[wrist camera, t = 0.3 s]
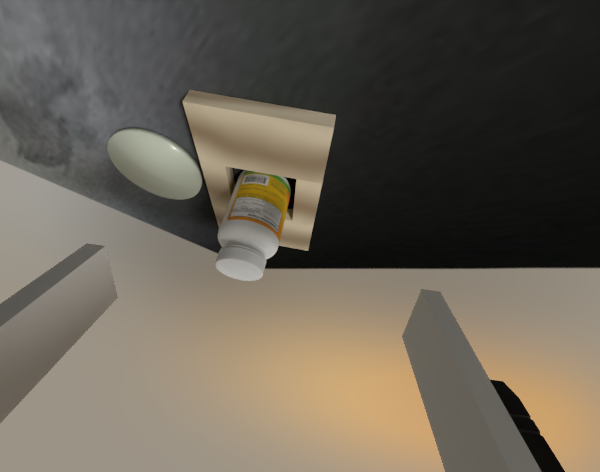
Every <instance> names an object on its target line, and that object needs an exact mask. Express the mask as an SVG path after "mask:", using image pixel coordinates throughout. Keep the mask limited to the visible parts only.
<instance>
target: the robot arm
mask: <svg viewBox="0 0 600 472" xmlns="http://www.w3.org/2000/svg"><path fill="white" fill-rule="evenodd" d="M117 298H118V297H117V293H116V289H115V285H114V281H113V276H112V273H111V268H110V264H109V260H108V255H107V251H106V247H105V246H101V245H93V244H85V245H84V246H83V247H81V248H80V249H78V250H77V251H75V252H74V253H73V254H71V255H70V256H68V257H67V258H65V259H64V260H63V261H61V262H60V263H58V264H57V265H55V266H54V267H53V268H51V269H50V270H48V271H47V272H45V273H44V274H43V275H41V276H40V277H38V278H37V279H35V280H34V281H33V282H31V283H30V284H28V285H27V286H26V287H24V288H22V289H21V290H20V291H18V292H17V293H16V294H14V295H12V296H11V297H10V298H8V299H7V300H5V301H4V302H3V303H1V304H0V423H1V422H2V421H3V420H4V419H5V418H6V417H7V416H8V414H9V413H10V412H11V411H12V410H13V409H14V408H15V407H16V406H17V405H18V404H19V403H20V401H22V399H23V398H24V397H25V396H26V395H27V394H28V393H29V392H30V391H31V390H32V389H33V388H34V386H35V385H36V384H37V383H38V382H39V381H40V380H41V379H42V378H43V377H44V376H45V375H46V374H47V373H48V372H49V371H50V369H51V368H52V367H53V366H54V365H55V364H56V363H57V362H58V361H59V360H60V359H61V358H62V357H63V356H64V354H65V353H66V352H67V351H68V350H69V349H70V348H71V347H72V346H73V345H74V344H75V343H76V342H77V340H78V339H79V338H80V337H81V336H82V335H83V334H84V333H85V332H86V331H87V330H88V329H89V328H90V327H91V326H92V324H93V323H94V322H95V321H96V320H97V319H98V318H99V317H100V316H101V315H102V314H103V313H104V312H105V310H106V309H107V308H108V307H109V306H110V305H111V304H112V303H113V302H114V301H115V300H116V299H117ZM402 337H403V340H404V343H405V347H406V350H407V353H408V356H409V359H410V362H411V365H412V369H413V372H414V375H415V378H416V381H417V384H418V387H419V391H420V393H421V397H422V400H423V403H424V406H425V409H426V412H427V416H428V419H429V422H430V425H431V428H432V431H433V434H434V437H435V441H436V444H437V447H438V450H439V453H440V456H441V460H442V463H443V466H444V469H445V472H565V471H564V469H563V468H562V467H561V465H560V463H559V461H558V460H557V458H556V457H555V455H554V453H553V452H552V450H551V449H550V447H549V445H548V444H547V442H546V441H545V439H544V438H543V436H541V435H540V431H539V429H538V428H537V426H536V425H535V423H534V421H533V420H531V419H530V415H529V413H528V412H527V410H526V409H525V407H524V405H523V404H522V402H521V401H520V399H519V398H518V397H517V396H516V395H515V394H514V392H513V391H512V390H511V389H510V388H509V387H508V386H507V385H506V384H505V383H504V382H502V381H495V380H490V379H489V378H488V376H487V374H486V372H485V371H484V369H483V367H482V365H481V363H480V362H479V360H478V358H477V356H476V355H475V353H474V351H473V349H472V347H471V346H470V344H469V342H468V340H467V339H466V337H465V335H464V333H463V331H462V330H461V328H460V326H459V325H458V323H457V321H456V319H455V317H454V316H453V314H452V312H451V310H450V309H449V307H448V305H447V303H446V302H445V300H444V298H443V296H442V294H441V293H440V292H438V291H431V290H424V289H422V290H421V292H420V294H419V297H418V299H417V302H416V305H415V307H414V309H413V311H412V314H411V317H410V319H409V321H408V324H407V326H406V328H405V331H404V333H403V336H402Z"/></svg>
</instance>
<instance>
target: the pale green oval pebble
mask: <svg viewBox="0 0 600 472" xmlns="http://www.w3.org/2000/svg"><path fill="white" fill-rule="evenodd" d="M107 150H108V154H109V157H110V159H111V161H112V162H113V164H114V165H115V167H116V168H117V169H118V170H119V171H120V172H121V173H122V174H123V175H124V176H125V177H126V178H128V179H129V180H130V181H131V182H133V183H134V184H136V185H137V186H139V187H141V188H142V189H144V190H146V191H148V192H151V193H153V194H155V195H158V196H161V197H165V198H169V199H178V200H181V199H189V198H192V197H194V196H195V195H197V194H198V192H199V191H200V189H201V186H202V184H203V175H202V172H201V169H200V167H199V166H198V164H197V162H196V161H195V160H194V159H193V157H192V156H191V155H190V154H189V153H188V152H187V151H186V150H185V149H183V148H182V147H181V146H180V145H178V144H177V143H175V142H174V141H172V140H171V139H169V138H167V137H165V136H163V135H161V134H159V133H156V132H153V131H150V130H147V129H142V128H135V127H129V128H123V129H120V130H118V131H116V132H115V133H114V134H113V135H112V137H111V138H110V139H109V141H108V145H107Z"/></svg>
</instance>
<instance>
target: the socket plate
mask: <svg viewBox="0 0 600 472" xmlns="http://www.w3.org/2000/svg"><path fill="white" fill-rule="evenodd" d="M182 102H183V106H184V109H185V113H186V116H187V120H188V123H189V127H190V130H191V133H192V137H193V140H194V144H195V147H196V151H197V154H198V157H199V161H200V164H201V168H202V171H203V175H204V178H205V182H206V185H207V188H208V192H209V195H210V199H211V202H212V206H213V209H214V213H215V216H216V219H217V223H218V226H219V228H220V225H221V222H222V220H223V217H224V214H225V212H226V209H227V207H228V204H229V201H230V199H231V196H232V193H233V191H234V188H235V181H234V175H233V169H232V168H237V169H242V170H248V171H254V172H259V173H265V174H271V175H276V176H282V177H287V178H293V179H296V188H295V198H294V209H288V208H287V212H286V216H285V221H284V225H283V229H282V234H281V238H280V242H279V246H285V247H290V248H296V249H301V250H307V251H308V248H309V243H310V239H311V234H312V229H313V225H314V220H315V215H316V210H317V206H318V201H319V196H320V191H321V187H322V182H323V177H324V172H325V168H326V163H327V158H328V154H329V149H330V144H331V139H332V135H333V130H334V124H335V118H336V115H333V114H327V113H321V112H316V111H310V110H304V109H298V108H292V107H287V106H281V105H275V104H269V103H263V102H258V101H252V100H246V99H240V98H234V97H229V96H223V95H217V94H211V93H205V92H200V91H194V90H189V92H188V94H187V95H186V97H185V98H184V100H183V101H182Z"/></svg>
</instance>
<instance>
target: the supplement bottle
mask: <svg viewBox="0 0 600 472" xmlns="http://www.w3.org/2000/svg"><path fill="white" fill-rule="evenodd" d="M290 195H291V187H290V184H289V182H288V180H287V179H286V178H285V177H282V176H276V175H271V174H265V173H259V172H254V171H248V170H244V171H243V172H242V173H241V174H240V176H239V178H238V180H237V183H236V185H235V188H234V191H233V193H232V196H231V199H230V201H229V204H228V207H227V209H226V212H225V214H224V217H223V220H222V222H221V225H220V228H219V231H218V240H219V243H220V245H221V246H222V248H221V249H220V251H219V254H218V257H217V260H216V264H215V265H216V268H217V269H218V270H219V271H220V272H221V273H223V274H225V275H226V276H229V277H231V278H235V279H238V280H244V281H255V280H258V279H260V278H261V277H262V276H263V272H264V269H265V264H266V259H268V258H270V257H272V256H273V255H274V254H275V253H276V251H277V249H278V246H279V242H280V238H281V234H282V229H283V225H284V221H285V216H286V212H287V208H288V204H289V200H290Z"/></svg>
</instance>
